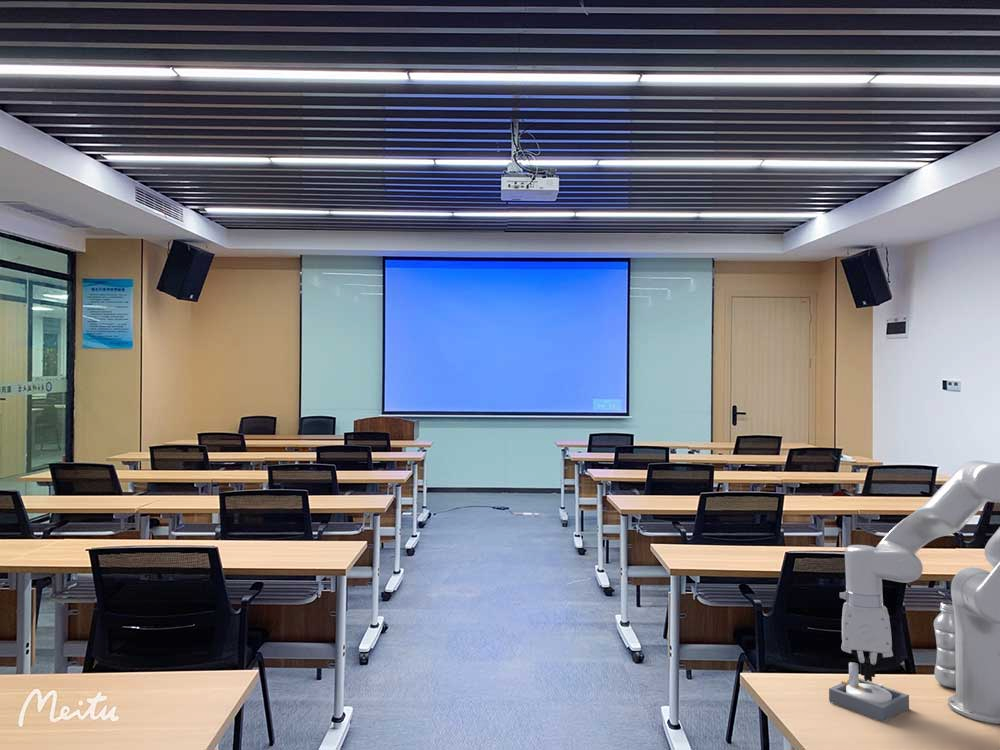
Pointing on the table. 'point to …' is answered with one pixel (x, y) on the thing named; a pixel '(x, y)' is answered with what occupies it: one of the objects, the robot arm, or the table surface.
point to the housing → (866, 707)
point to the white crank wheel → (865, 688)
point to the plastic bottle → (945, 646)
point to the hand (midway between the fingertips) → (867, 679)
